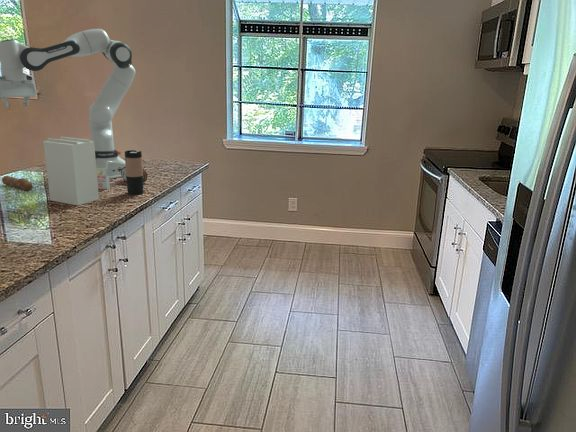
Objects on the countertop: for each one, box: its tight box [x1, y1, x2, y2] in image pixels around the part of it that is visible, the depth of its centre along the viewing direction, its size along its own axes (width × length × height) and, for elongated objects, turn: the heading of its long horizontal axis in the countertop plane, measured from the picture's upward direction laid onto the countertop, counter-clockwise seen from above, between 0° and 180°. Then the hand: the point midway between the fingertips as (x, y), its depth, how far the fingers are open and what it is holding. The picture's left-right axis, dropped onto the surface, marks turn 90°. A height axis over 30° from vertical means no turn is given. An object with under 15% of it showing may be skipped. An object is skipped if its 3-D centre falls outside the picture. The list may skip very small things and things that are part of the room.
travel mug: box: [124, 149, 144, 196], centre depth 211 cm, size 8×8×20 cm
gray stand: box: [42, 136, 100, 206], centre depth 194 cm, size 16×12×27 cm
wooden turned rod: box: [1, 175, 33, 192], centre depth 212 cm, size 20×5×5 cm, turn 59°
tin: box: [121, 167, 148, 184], centre depth 232 cm, size 15×3×8 cm, turn 71°
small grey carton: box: [96, 168, 111, 191], centre depth 218 cm, size 4×7×10 cm, turn 92°
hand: (17, 106), depth 211 cm, fingers open, 8 cm apart
